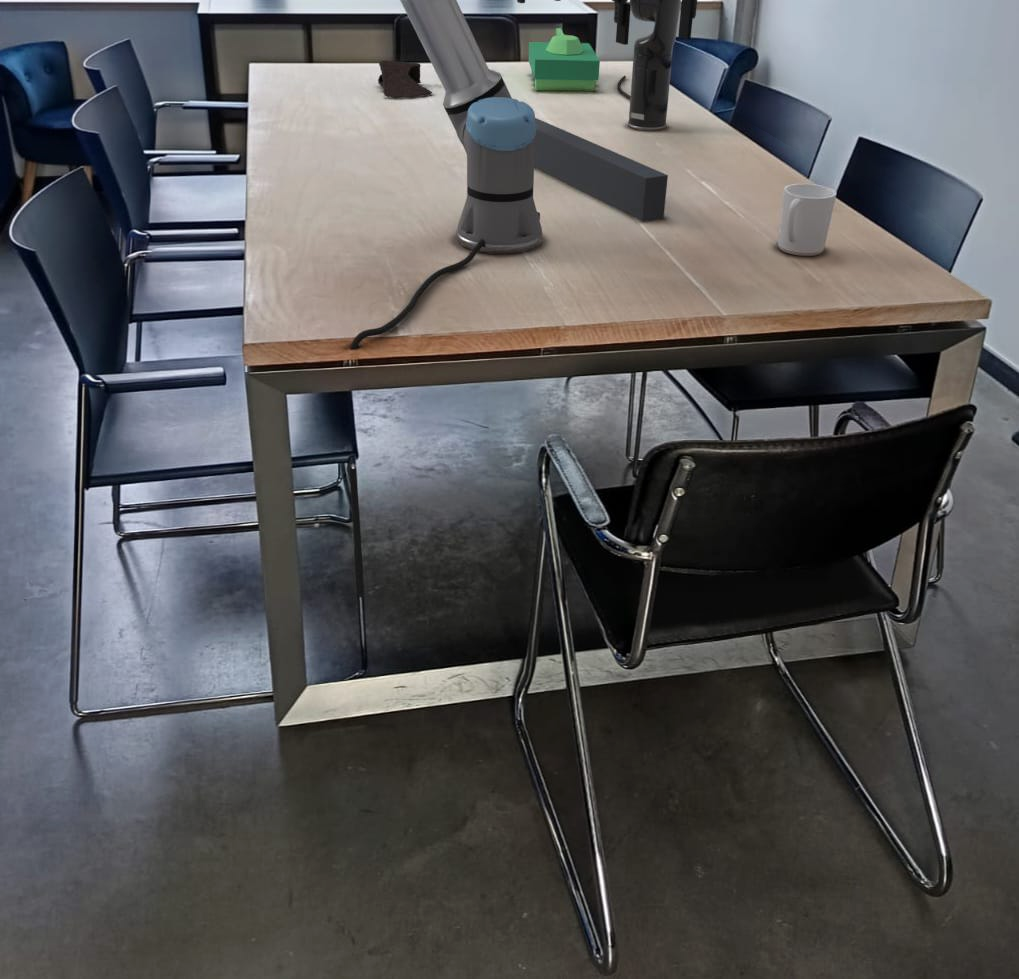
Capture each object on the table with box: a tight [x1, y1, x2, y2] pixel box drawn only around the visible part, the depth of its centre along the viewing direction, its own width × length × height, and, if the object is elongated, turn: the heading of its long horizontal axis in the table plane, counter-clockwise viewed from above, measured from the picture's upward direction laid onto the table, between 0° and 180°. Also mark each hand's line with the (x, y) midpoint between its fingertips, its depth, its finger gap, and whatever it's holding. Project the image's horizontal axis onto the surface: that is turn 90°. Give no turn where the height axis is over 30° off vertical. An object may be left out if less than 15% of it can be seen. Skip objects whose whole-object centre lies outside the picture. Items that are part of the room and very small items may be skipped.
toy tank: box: [528, 27, 601, 91], centre depth 314 cm, size 18×12×35 cm
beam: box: [534, 117, 669, 222], centre depth 224 cm, size 50×5×8 cm, turn 29°
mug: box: [777, 183, 837, 257], centre depth 191 cm, size 11×9×10 cm
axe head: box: [377, 59, 433, 99], centre depth 299 cm, size 18×8×15 cm
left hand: (653, 41), depth 195 cm, fingers open, 13 cm apart
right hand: (538, 1), depth 224 cm, fingers open, 8 cm apart
